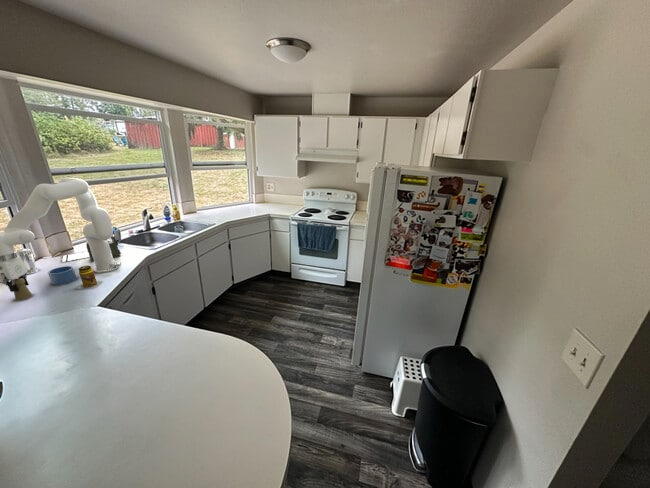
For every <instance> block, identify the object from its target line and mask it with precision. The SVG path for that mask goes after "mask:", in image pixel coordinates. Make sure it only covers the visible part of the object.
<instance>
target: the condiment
mask: <svg viewBox="0 0 650 488" xmlns="http://www.w3.org/2000/svg"><path fill="white" fill-rule="evenodd" d="M78 275H79V277H80V281H81V285H79V286H78V287H77V288H76V290H81V289H82V290H83V289H93V288H94V289H95V287H97V286H98V285H99V284H100V283H101V281H97V278H96V274H95V272H94V269H93V268H92V266H91V265H83V266H80V267H79V268H78Z"/></svg>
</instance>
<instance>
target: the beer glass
mask: <svg viewBox="0 0 650 488" xmlns="http://www.w3.org/2000/svg"><path fill="white" fill-rule="evenodd" d="M15 251H16V253H17V255H18V256H19V257H20V258H21V259H22V261H23V262H24V264H25V266H26V268H27V269H28V272H27V274H26V275H29V274H34V273H37V272H39V269H38V267H37V266H36V263H35V256H34V253H33V251H32V250H31V248H19V249H15Z"/></svg>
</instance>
